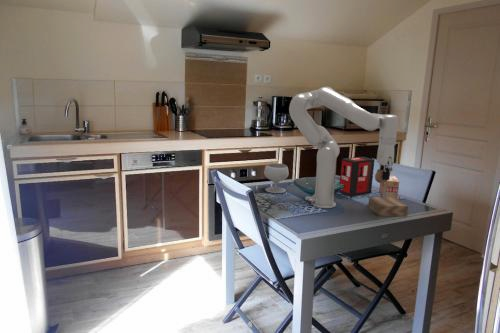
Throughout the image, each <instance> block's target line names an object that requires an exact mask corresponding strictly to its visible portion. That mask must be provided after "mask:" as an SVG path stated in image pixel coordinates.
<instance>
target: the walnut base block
mask: <svg viewBox="0 0 500 333" xmlns="http://www.w3.org/2000/svg"><path fill="white" fill-rule="evenodd" d="M367 205H368V208H369V209H371V210H372V211H373V212H374V213H375V214H376V215H377V216H378V217H404V216H403V215H407V216H408V211H409V205H407V204H406V203H404V202H403V201H402V200H400V199H399V198H398V197H397V198H396V197H382V196H381V197H379V196H378V197H377V196H370V197H369V198H368V204H367Z"/></svg>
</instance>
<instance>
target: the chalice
mask: <svg viewBox="0 0 500 333" xmlns="http://www.w3.org/2000/svg"><path fill="white" fill-rule="evenodd" d="M289 171H290V170H289V168H288V165H286V164H284V163H279V162H277V163H275V162H273V163H267V164H266V165H265V168H264V171H263V173H264V176H265V178H267V179H268V180H269V181H271V182H272V183H273V185H274V186H270V187H266V188H265V189H264V190H265V192H268V193H271V194H283V193H284V194H285V193H287V189H286V188H284V187H279V186H278V184H279V183H280V182H282V181H284V180H285V179H287V178H288V177H289Z"/></svg>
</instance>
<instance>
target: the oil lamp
mask: <svg viewBox="0 0 500 333" xmlns="http://www.w3.org/2000/svg"><path fill="white" fill-rule="evenodd" d="M383 172H384V170H379V169H377V170H376V173H375V175H374V179H375V181H376V182H377V183H379V184H380V183H383V182H387V181H388V180H383V179H382V177H383ZM391 172H393V167H392V168H391V171H390V173H391Z"/></svg>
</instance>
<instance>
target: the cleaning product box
mask: <svg viewBox="0 0 500 333" xmlns="http://www.w3.org/2000/svg"><path fill="white" fill-rule="evenodd" d="M375 160H376V159H374V158H371V157H370V158H369V157H366V156H354V157H345V158H341V164H340V178H339V185H340V184H344V188H343V189H342V190H340V191H339V190H338V193H339V194H341V195H344V196H347V197H349V198H351V197H356V196H357V197H358V196H362V195H368V194H372V187H373V177H374V169H375V162H376V161H375Z"/></svg>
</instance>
